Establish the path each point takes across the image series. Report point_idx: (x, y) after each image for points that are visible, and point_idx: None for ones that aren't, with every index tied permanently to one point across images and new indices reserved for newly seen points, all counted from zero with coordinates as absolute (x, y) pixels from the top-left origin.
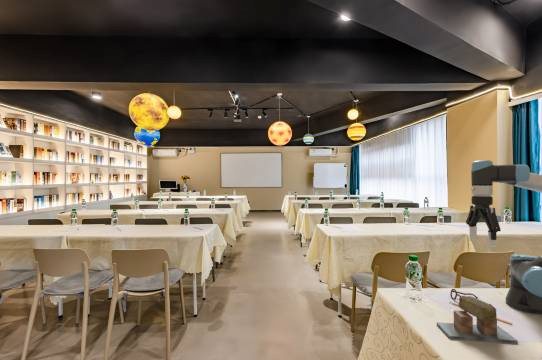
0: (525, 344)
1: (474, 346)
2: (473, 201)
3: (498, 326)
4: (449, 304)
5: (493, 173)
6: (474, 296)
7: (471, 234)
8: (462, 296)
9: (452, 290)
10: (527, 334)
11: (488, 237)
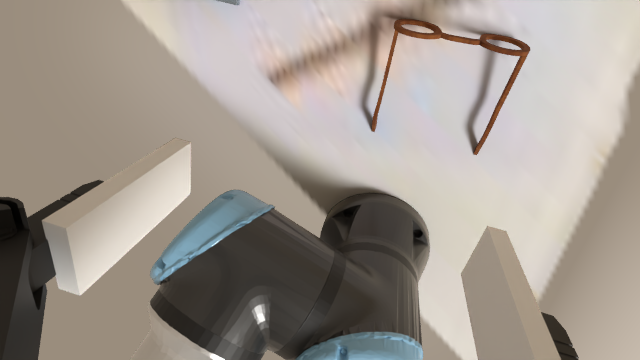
0: (157, 6)
1: None
2: None
3: (233, 3)
4: None
5: None
6: (479, 142)
7: (499, 288)
8: (433, 34)
9: (520, 50)
10: (212, 69)
11: (117, 183)
